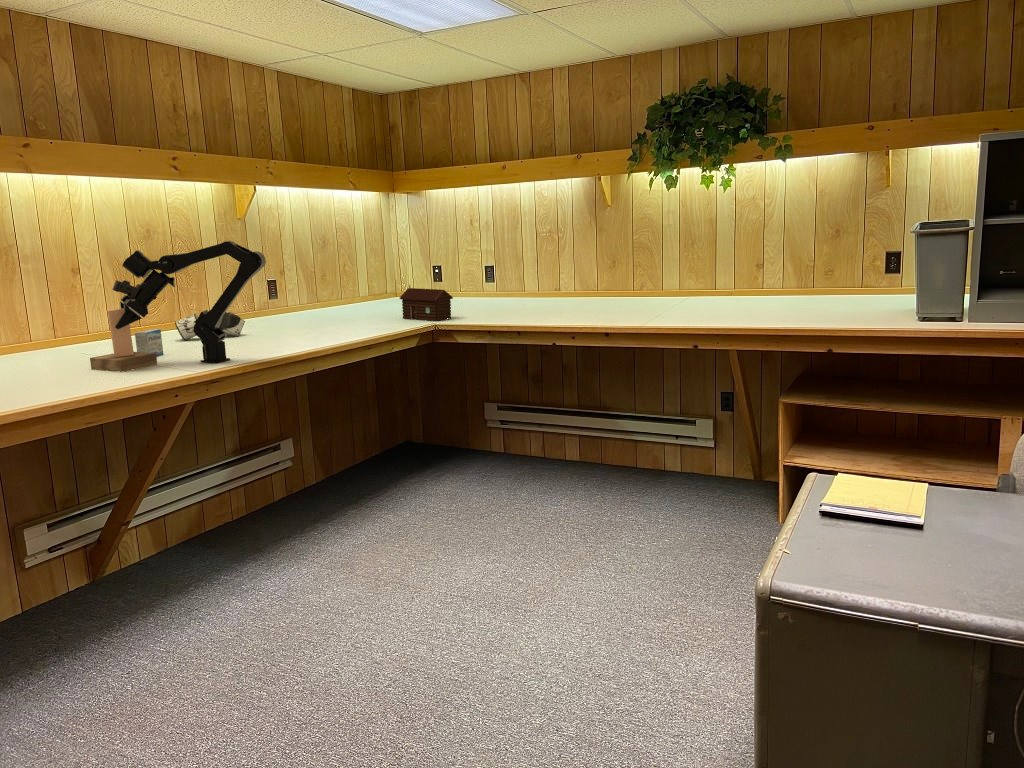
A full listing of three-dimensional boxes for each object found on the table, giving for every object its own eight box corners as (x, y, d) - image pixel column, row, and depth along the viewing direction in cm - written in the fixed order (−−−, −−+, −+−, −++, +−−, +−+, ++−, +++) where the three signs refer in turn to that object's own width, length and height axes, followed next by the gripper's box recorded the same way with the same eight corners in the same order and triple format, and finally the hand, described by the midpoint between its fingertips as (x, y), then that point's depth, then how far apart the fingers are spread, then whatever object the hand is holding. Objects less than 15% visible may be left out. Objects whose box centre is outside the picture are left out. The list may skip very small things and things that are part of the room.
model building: (400, 319, 350) (399, 285, 347) (417, 316, 360) (416, 283, 357) (436, 322, 339) (435, 287, 336) (453, 319, 348) (452, 285, 345)
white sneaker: (179, 343, 289) (177, 316, 287) (173, 340, 297) (171, 314, 295) (249, 336, 303) (247, 310, 301) (241, 334, 311) (239, 308, 309)
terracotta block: (132, 353, 245) (125, 308, 242) (134, 354, 241) (127, 309, 238) (114, 355, 242) (107, 309, 240) (116, 357, 238) (108, 310, 235)
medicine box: (149, 358, 256) (146, 332, 255) (137, 358, 257) (134, 332, 255) (163, 354, 264) (161, 328, 262) (151, 354, 265) (149, 328, 263)
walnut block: (157, 366, 246) (156, 353, 245) (122, 373, 234) (120, 360, 233) (127, 363, 251) (126, 351, 250) (91, 370, 239) (89, 357, 238)
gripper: (124, 268, 246) (89, 306, 243) (131, 271, 230) (93, 312, 227) (154, 292, 252) (120, 329, 248) (163, 297, 236) (126, 336, 233)
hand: (114, 326), depth 239 cm, fingers open, 9 cm apart
